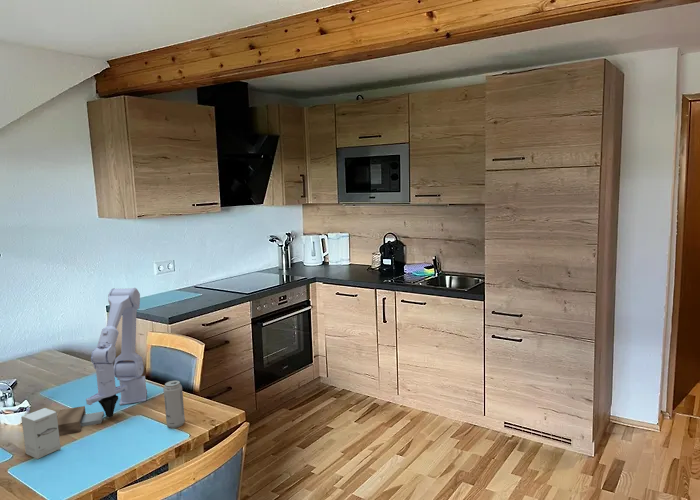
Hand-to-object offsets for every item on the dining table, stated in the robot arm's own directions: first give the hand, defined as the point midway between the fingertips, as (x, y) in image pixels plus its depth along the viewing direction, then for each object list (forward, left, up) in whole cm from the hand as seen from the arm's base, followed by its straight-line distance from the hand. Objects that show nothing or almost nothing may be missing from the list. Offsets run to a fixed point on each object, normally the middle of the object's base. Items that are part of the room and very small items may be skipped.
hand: (109, 416), depth 184 cm
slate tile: (+9, -1, -1) cm, 9 cm away
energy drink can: (-22, +15, -1) cm, 27 cm away
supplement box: (+18, +17, -1) cm, 25 cm away
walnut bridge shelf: (+13, 0, -1) cm, 13 cm away
